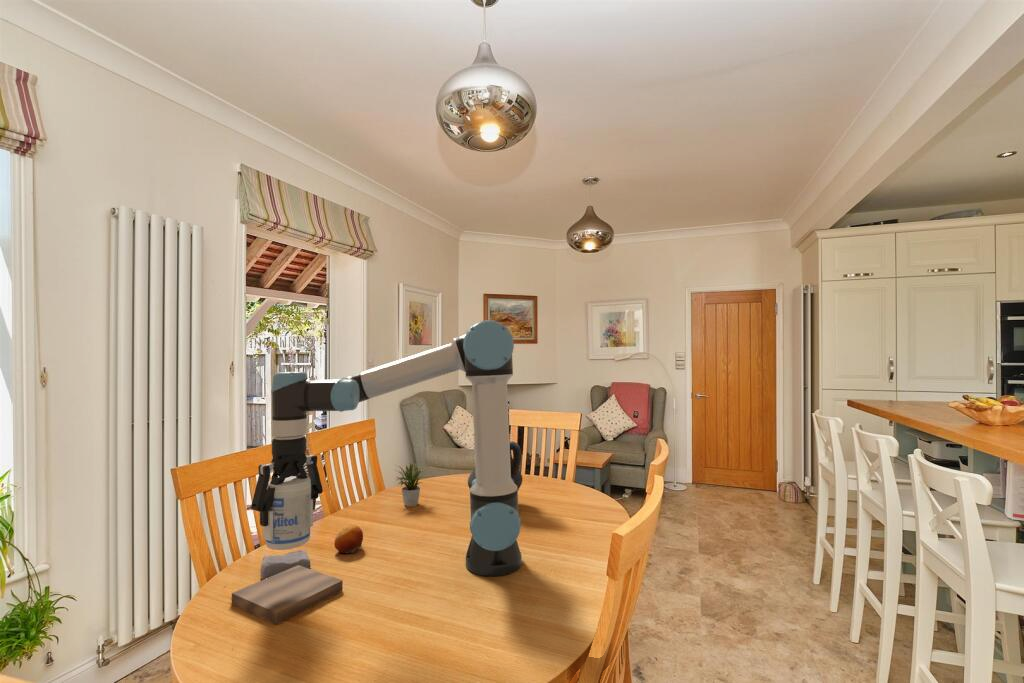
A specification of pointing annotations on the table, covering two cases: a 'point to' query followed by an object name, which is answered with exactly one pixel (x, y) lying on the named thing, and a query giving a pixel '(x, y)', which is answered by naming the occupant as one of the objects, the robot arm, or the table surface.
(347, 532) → the fruit
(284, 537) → the supplement tub
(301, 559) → the stone block
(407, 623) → the table surface
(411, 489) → the house plant
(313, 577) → the walnut board
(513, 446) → the pitcher
